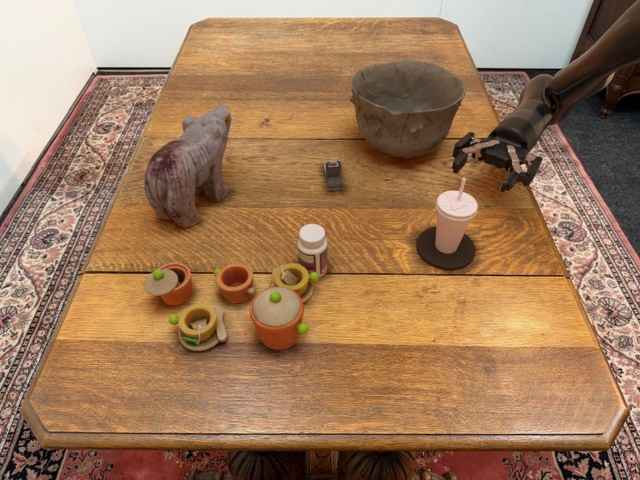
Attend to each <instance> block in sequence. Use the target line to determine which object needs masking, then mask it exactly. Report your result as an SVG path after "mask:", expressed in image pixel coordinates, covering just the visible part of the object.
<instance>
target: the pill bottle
mask: <svg viewBox="0 0 640 480" xmlns="http://www.w3.org/2000/svg"><path fill="white" fill-rule="evenodd" d="M297 255H298V256H297V257H298V258H297V259H298V263H300V265H302V266H303V267H305V268H306V270H307V271H308V274H309V275H310V273H312V272H316V273H317V274H318V275H319V278H321V277H323V276H325V274H327V271H328V240H327V238H326V231H325V229H324V227H323V226H321V225H319V224H316V223H308V224H305V225H303V226H302V227H301V228H300V229H299V232H298V240H297Z"/></svg>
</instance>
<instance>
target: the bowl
mask: <svg viewBox="0 0 640 480" xmlns="http://www.w3.org/2000/svg"><path fill="white" fill-rule="evenodd" d="M349 86H350V90H351V93H352V96H351V97H350V98H349V102H350V103H352V105H353V106H354V112H355V120H356V124H357V126H358V130H359V131H360V134H361V135H362V136H363V138H364V139H365V141H366V142H368V144H369V145H370V146H371V147H373V148H374V149H376V150H378V151H380V152H382V153H384V154H386V155H389V156H391V157H396V158H406V159H407V158H408V159H409V158H417V157H420V156H423V155H426V154H429V153H432V152H433V151H435V149H437V148H438V147H439V146H440V145H441V144H442V143H443V142H444V141H445V140H446V139H447V137H448V135H449V132H450V130H451V128H452V125H453V121H454V119H455V117H456V114H457V112H458V110H459V108H460V107H461V106H462V102H463V100H464V98H465V97H466V96H467V95H466V94H467V88H466V84H465V82H464V80H462V79H461V78H460V77H459V76H457V74H455V73H453V72H451V71H450V70H448V69H446V68H444V67H443V66H440V65H438V64H436V63H431V62H427V61H423V60H411V59H410V60H409V59H408V60H406V59H405V60H400V61H391V62H390V61H389V62H382V63H375V64H374V63H373V64H372V65H368V66H366V67H363V68H362V69H360V70H357V72H356V73H354V75H353V76H352V77H351V78H350V81H349Z"/></svg>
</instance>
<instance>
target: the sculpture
mask: <svg viewBox="0 0 640 480" xmlns="http://www.w3.org/2000/svg"><path fill="white" fill-rule="evenodd" d="M231 125H232V115H231V112H230V110H229V108H228V107H227V106H226V105H225V104H224V103H219V104H218V105H217V106H215V108H214V109H212V110H209V111H208V112H206V113H204V114H203V115H201V116H199V117H195V116H193V115H187V116H185V117H183V119H182V121H181V127H182V133H183V134H181V136H179V137H177V138H174V139H173V140H171V141H169V142H167V143H165V144H164V145H161V146H160V147H159V148H158V149H157V150H156V151H155V152H154V153H153V154H152V155H151V157H150V158H149V160H148V163H147V165H146V168H145V172H144V175H143V177H144V178H143V184H144V186H143V188H144V194H145V197H146V199H147V202H148V204H149V205H150V207H151V209H152V210H153V211H154V213H156V214H157V216H159V218H160V219H163V220H167V221H171V220H173V222H175V223H176V225H178V226H179V227H181V228H185V229H186V228H189V227H192V226H194V225H197V224H198V223H199V222H200V220H201V215H200V213H199V211H198V209H197V208H196V204H195V201H196V195H201V194H202V193H203V191H204V194H205V196H206V197H207V198H208V199H209V200H210V201H212V202H220V201H222V200H224V198H226V197H227V196H228V195H229V194H230V191H231V189H230V188H229V187H228V186H226V185H224V181H223V180H224V179H223V160H224V155H225V151H226V149H227V145H228V141H229V133H230V129H231Z"/></svg>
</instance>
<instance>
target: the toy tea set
mask: <svg viewBox="0 0 640 480" xmlns="http://www.w3.org/2000/svg"><path fill="white" fill-rule="evenodd" d="M213 276H214V277H215V282H216V285H217V287H218V288H219V290H220V292H221V294H222V296H223V297H224V299H225V300H226V301H227V302H229V303H232V304H241V303H244V302H246V301H247V300H249V298H250V297H251V296H252V295H254V294H255V293H256V289H255V288H254V287H253V286H254V272H253V269H251V267H250V266H249V265H247V264H244V263H242V262H241V263H240V262H232V263H229V264H226V265H224V266H222V267H221V268H216V269H215V270H214V271H213ZM319 279H320V277H319V275H318V274H317V273H316V272H312V273H310V275H309V274H308V271H307V270H306V268H305V267H303V266H302V265H300V263H299V262H297V263H296V262H295V263H293V262H291V263H288V262H287V264H281V265H280V267H275V268H273V269H272V271H271V279H270V280H271V283H270V286H269V287H268V288H265V289H264V290H262V291H260V292H259V293H257V294H256V296H254V298H252V301H251V303H250V306H249V316H250V319H251V322H252V323H253V326H254V328H255V330H256V332H257V335H258V336H259V338H260V340H261V342H262V343H263V345H264V346H265V347H267V348H269V349H271V350H275V351H284V350H286V349H289V348H291V347H293V346H294V345H295V344H296V342H298V340H299V338H300V334H301V335H305V334H307V333H308V332H309V325H308V324H307V323H305V322H303V317H304V311H305V305H304V303H305V302H307V301H308V300H309V299H311V297H312V295H313V293H314V283H316V282H318V281H319ZM192 283H193V282H192V273H191V270H190V268H189V267H188V266H187V265H186V264H184V263H181V262H169V263H166V264H163V265H162V266H160V267H158V269H155V270H153V272H151V273H149V274H148V275H147V277H146V278H145V279H144V281H143V289H144V291H145V292H146V293H147V294H148V295H150V296H155V297H159V296H160V298H161V299H162V300H163V302H164V303H165V304H167V305H169V306H180V305H183V304H185V303H186V302H188V301H189V300H190V298H191V297H192V294H193V285H192ZM224 317H225V309H224V308H223V307H221V306H215V307H213V306H211V305H209V304H207V303H194V304H191V305H189V306H188V307H186V308H185V309H183V310H182V312H181V313H180V314H179V315H178V314H171V315H170V316H169V318H168V322H169V324H170V325H171V326H176V325H178V327H179V330H178V338H179V341H180V343H181V345H182V346H183V347H184V348H185V349H188V350H189V351H194V352H203V351H206V350H207V351H208V350H209V349H212V348H213V347H215V346H216V345H218V344H219V343H220V342H221V343H222V342H223V343H224V342H226V341H227V339H228V333H227V329H226V326H225V322H224Z"/></svg>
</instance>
